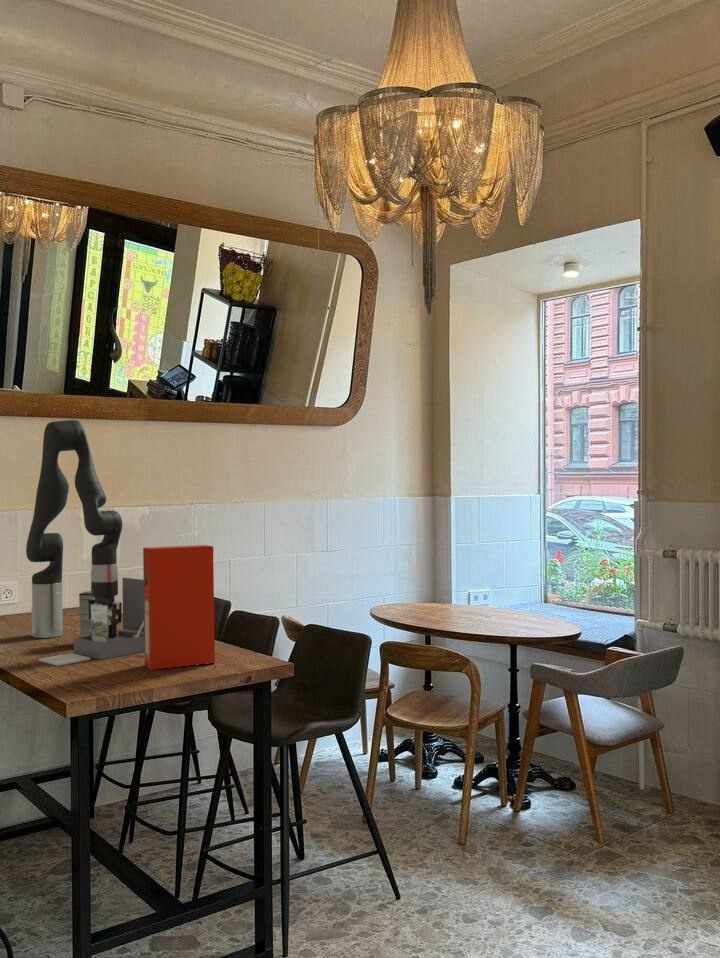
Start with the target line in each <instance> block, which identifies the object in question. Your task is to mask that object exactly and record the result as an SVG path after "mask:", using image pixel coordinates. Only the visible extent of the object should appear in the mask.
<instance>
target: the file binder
mask: <svg viewBox="0 0 720 958" xmlns="http://www.w3.org/2000/svg"><path fill="white" fill-rule="evenodd" d="M142 549H143V550H142V555H143V556H142V557H143V559H142V561H143V564H142V566H143V580H144V650H145V652H144V666H145V667H146V668H147V669H148V670H149V671H157V669H158V670H164V668H167V669H174V668H173V667H177V668H182V667H181V666H187V667H189V666H188V665H196V666H198V665H197V664H206V665H208V664H207V663H214V664H215V663H216V658H215V656H216V655H215V653H216V652H215V646H216V645H215V593H214V592H215V591H214V590H215V589H214V588H215V586H214V585H215V584H214V583H215V582H214V581H215V580H214V577H215V575H214V572H215V571H214V546H213V545H208V544H196V545H178V546H177V545H174V546H152V547H148V546H147V547H143V548H142Z"/></svg>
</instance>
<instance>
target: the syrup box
mask: <svg viewBox="0 0 720 958" xmlns="http://www.w3.org/2000/svg"><path fill="white" fill-rule="evenodd" d="M108 614H112V611H111V607H110V609H109V607H108V605H103V606H102V605H100V604H93V605H91V636H92V641H95V642H100V643H103V642H109V641H115V640H118V631H119V623H118V624H117V625H116V631H117V634H116V637H115V638H109V637H108V625H109V624H108V617H106V615H108ZM116 617H117V619H118V615H117V616H116ZM111 621H112V618H111Z"/></svg>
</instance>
